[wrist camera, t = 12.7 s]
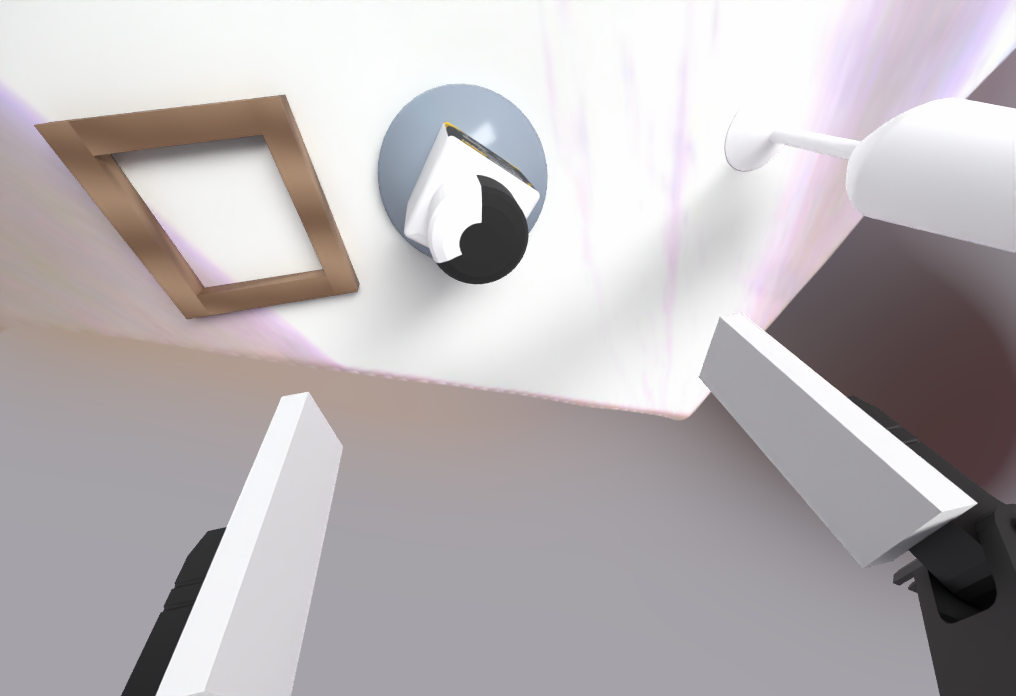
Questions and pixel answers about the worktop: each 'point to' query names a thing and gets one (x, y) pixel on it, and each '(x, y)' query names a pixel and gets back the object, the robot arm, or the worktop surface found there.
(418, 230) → the medicine bottle
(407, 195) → the slate plate
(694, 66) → the worktop surface
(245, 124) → the wooden picture frame
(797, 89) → the worktop surface
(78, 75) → the worktop surface
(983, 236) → the champagne flute
